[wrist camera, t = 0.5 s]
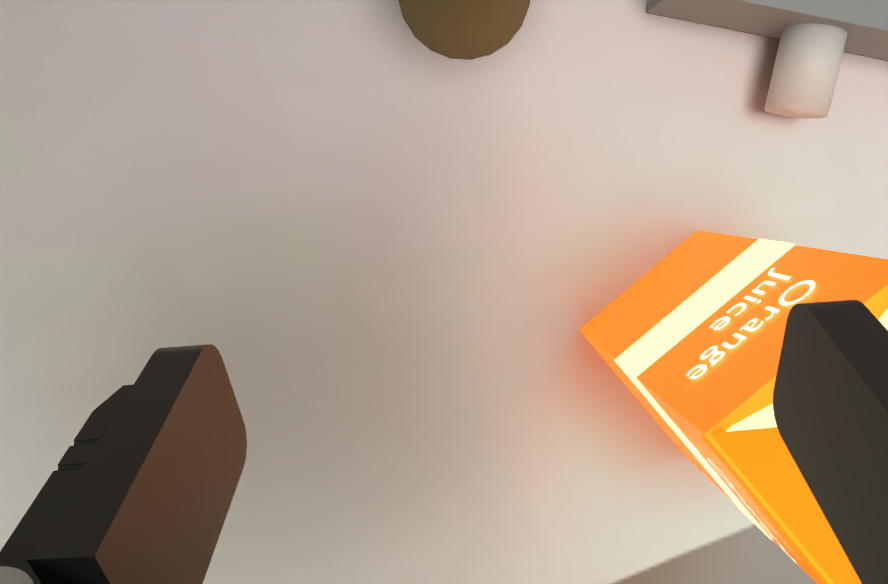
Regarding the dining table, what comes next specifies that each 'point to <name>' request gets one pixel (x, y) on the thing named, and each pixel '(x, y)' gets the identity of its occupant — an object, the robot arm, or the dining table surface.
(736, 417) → the orange juice
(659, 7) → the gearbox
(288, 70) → the dining table surface
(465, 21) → the cork
